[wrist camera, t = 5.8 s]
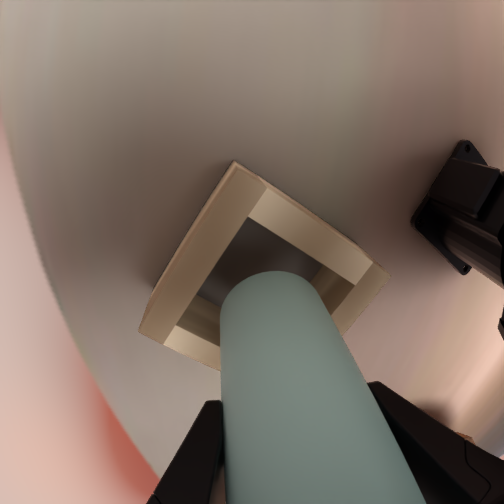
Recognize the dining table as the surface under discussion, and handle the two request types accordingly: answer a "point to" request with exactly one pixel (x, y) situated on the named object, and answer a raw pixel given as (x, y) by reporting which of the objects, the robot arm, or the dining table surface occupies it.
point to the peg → (300, 405)
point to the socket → (253, 264)
